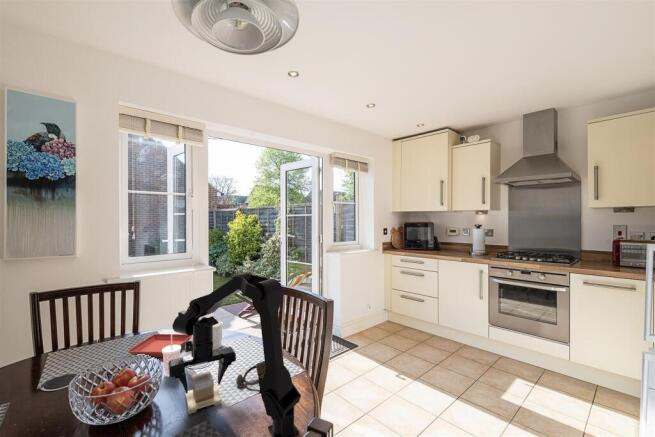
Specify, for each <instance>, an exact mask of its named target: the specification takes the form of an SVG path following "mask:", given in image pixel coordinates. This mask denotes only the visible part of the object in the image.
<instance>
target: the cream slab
mask: <svg viewBox="0 0 655 437" xmlns="http://www.w3.org/2000/svg"><path fill="white" fill-rule="evenodd" d="M184 395H185V402H186V406H187V412H188V414H189V415H190V414H193V413H196V412H197V411H198V409H202V408H205V407H209V406H211V405H213V406H214V407H216V406H219V405H222V402H223V398H222V396H221V395H220V392H219V389H218V387H217V385H216V383H214V398H212V399H209V400H206V401H202V402H199V403H196V402H195V399H194V395H193V389H190V390H188V393H187V394H186V392H185V391H184Z"/></svg>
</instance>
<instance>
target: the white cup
mask: <svg viewBox="0 0 655 437" xmlns="http://www.w3.org/2000/svg"><path fill="white" fill-rule="evenodd" d="M217 321H218V324H215V325H213V351H215V350H218V349H221V347H222V342H223V341H222V340H223V328H224V327H223V326H224V325H223V324H224V323H223V321H221V320H217Z"/></svg>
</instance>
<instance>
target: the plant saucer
mask: <svg viewBox="0 0 655 437" xmlns="http://www.w3.org/2000/svg"><path fill="white" fill-rule="evenodd" d="M171 334H172V345H180V346H181V348H182V347H184V346H185V342H187V341H190V339H191V338H193V335H191V336H189V335H185V334H181V333H178V334H176V333H175V334H174V333H154V334H152V335H150V336H149V337H147V338H145V339H144V340H142V341H141V342H139V343H138V344H136V345H133V347H130V349H128V350H127V353H129V354H130V355H131V356H133V355H137V354H145V355H149V356H154V357H153V358H163V353H162V349H163V348H165V347H167V346H170V345H171Z"/></svg>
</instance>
